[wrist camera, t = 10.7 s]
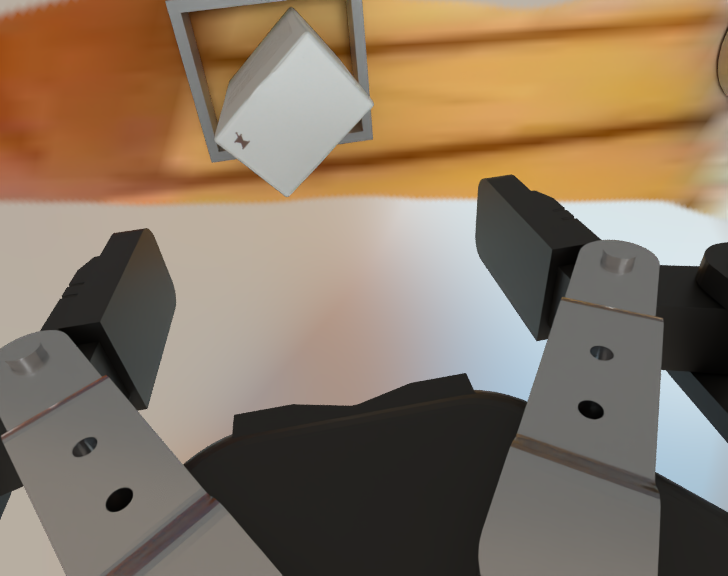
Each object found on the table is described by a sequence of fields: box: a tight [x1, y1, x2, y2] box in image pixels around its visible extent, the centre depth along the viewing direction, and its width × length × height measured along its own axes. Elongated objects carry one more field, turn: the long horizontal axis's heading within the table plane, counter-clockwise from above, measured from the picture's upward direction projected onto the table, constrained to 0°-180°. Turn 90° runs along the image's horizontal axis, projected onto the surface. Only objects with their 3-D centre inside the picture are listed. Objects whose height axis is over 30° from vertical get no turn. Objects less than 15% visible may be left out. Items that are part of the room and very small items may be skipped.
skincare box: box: [214, 7, 374, 197], centre depth 25 cm, size 6×4×12 cm
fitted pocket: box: [165, 0, 373, 163], centre depth 29 cm, size 10×9×2 cm
